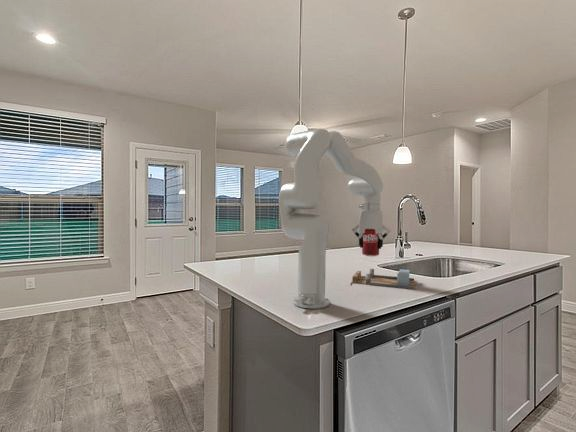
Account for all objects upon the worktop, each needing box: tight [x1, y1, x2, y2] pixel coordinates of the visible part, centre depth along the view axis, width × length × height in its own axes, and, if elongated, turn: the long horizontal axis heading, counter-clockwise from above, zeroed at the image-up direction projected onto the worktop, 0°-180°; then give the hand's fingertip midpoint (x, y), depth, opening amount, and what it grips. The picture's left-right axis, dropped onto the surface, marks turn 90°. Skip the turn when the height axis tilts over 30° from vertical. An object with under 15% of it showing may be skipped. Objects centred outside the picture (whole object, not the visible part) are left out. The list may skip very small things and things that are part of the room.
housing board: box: [350, 268, 418, 291], centre depth 137 cm, size 16×26×5 cm, turn 68°
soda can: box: [361, 228, 380, 258], centre depth 139 cm, size 7×7×12 cm
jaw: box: [396, 269, 410, 286], centre depth 134 cm, size 11×4×5 cm, turn 158°
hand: (370, 247), depth 139 cm, fingers closed on soda can, 7 cm apart
